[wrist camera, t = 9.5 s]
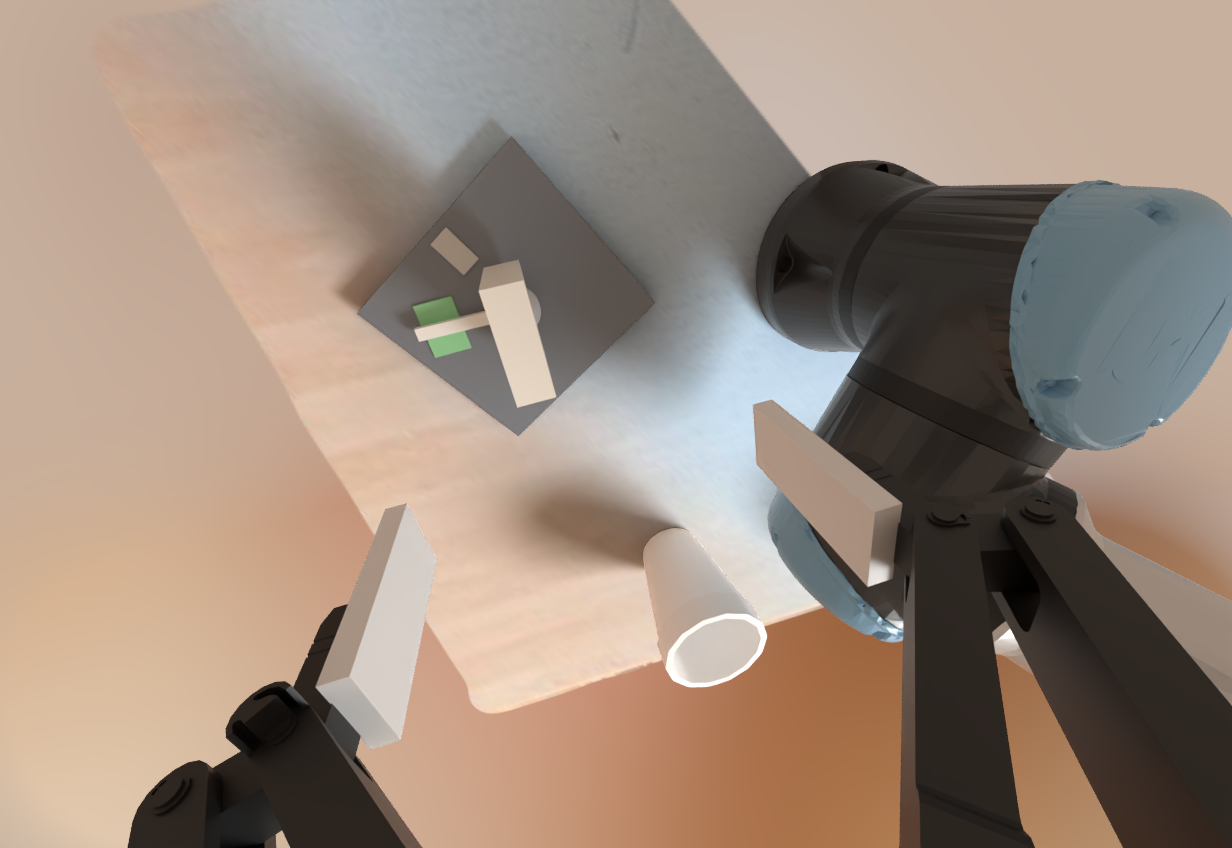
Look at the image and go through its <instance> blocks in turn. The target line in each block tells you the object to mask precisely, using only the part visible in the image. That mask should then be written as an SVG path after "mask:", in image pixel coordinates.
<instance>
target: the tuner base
mask: <svg viewBox="0 0 1232 848" xmlns="http://www.w3.org/2000/svg"><path fill="white" fill-rule="evenodd" d="M515 260H519V263H520V266H521V270H522V273H523V277H524V281H525V284H526V288H528V289H529V290H531V291H532V292H533V293H534V294H535V295H536V297H537V299H538V301H539V304H540V307H541V317H540V320H539V323H538V325H537V327H538V331H539V334H540V338H541V341H542V345H543V348H544V352H545V356H546V359H547V363H548V367H549V371H550V375H551V378H552V382H553V386H554V390H555V394H556V397H555V398H552V399H548V400H544V401H540V402H537V403H533V404H529V405H525V406H522V407H518V408H517V405H516V402H515V399H514V396H513V393H512V390H511V387H510V384H509V381H508V378H507V375H506V372H505V369H504V366H503V363H502V360H501V357H500V354H499V351H498V348H497V345H496V342H495V339H494V336H493V333H492V330H491V327H490V325H486V326H481V327H477V328H473V329H469V330H465V331H461V332H457V333H453V334H449V335H445V336H441V337H437V338H433V339H429V340H425V341H421V342H419V340H418V338H417V336H416V333H415V331H414V329H415V328H416V327H420V326H424V325H428V324H432V323H437V322H441V321H445V320H449V319H453V318H457V317H461V316H465V315H469V314H474V313H478V312H482V311H485V309H484V306H483V303H482V300H481V297H480V294H479V287H480V282H481V278H482V273H483V269H484V268H485V267H489V266H493V265H498V264H502V263H506V262H510V261H515ZM654 303H655V301H654V300H653V299H652V298H651V297H650V295H649V294H648V293H647V292H646V291H645V290H644V288H643V287H642V286H641V285H640V284H639V283H638V282H637V280H636V279H635V278H634V277H633V276H632V275H631V274H630V272H629V271H628V270H627V269H626V268H625V267H624V265H623V264H622V263H621V262H620V261H619V260H618V259H617V257H616V256H615V255H614V254H613V253H612V252H611V250H610V249H609V248H608V247H607V246H606V245H605V244H604V242H603V241H602V240H601V239H600V238H599V237H598V235H597V234H596V233H595V232H594V231H593V230H592V229H591V227H590V226H589V225H588V224H587V223H586V222H585V221H584V219H583V218H582V217H581V216H580V215H579V214H578V212H577V211H576V210H575V209H574V208H573V207H572V206H571V204H570V203H569V202H568V201H567V200H566V199H565V197H564V196H563V195H562V194H561V193H560V192H559V191H558V189H557V188H556V187H555V186H554V185H553V184H552V182H551V181H550V180H549V179H548V178H547V177H546V176H545V174H544V173H543V172H542V171H541V170H540V169H539V168H538V166H537V165H536V164H535V163H534V162H533V161H532V159H531V158H530V157H529V156H528V155H527V154H526V153H525V151H524V150H523V149H522V148H521V147H520V146H519V144H518V143H517V142H516V141H515V140H514V139H513V138H512V137H511V138H510V139H509V140H508V141H507V143H506V144H505V145H504V146H503V147H502V148H501V149H500V151H499V152H498V153H497V154H496V155H495V156H494V157H493V159H492V160H491V161H490V162H489V163H488V164H487V165H486V167H485V168H484V169H483V170H482V171H481V172H480V173H479V175H478V176H477V177H476V178H475V179H474V180H473V181H472V183H471V184H470V185H469V186H468V187H467V188H466V189H465V191H464V192H463V193H462V194H461V195H460V196H459V197H458V199H457V200H456V201H455V202H454V203H453V204H452V205H451V207H450V208H449V209H448V210H447V211H446V212H445V213H444V214H443V216H442V217H441V218H440V219H439V220H438V221H437V222H436V224H435V225H434V226H433V227H432V228H431V229H430V230H429V232H428V233H427V234H426V235H425V236H424V237H423V238H422V240H421V241H420V242H419V243H418V244H417V245H416V246H415V248H414V249H413V250H412V251H411V252H410V253H409V254H408V256H407V257H406V258H405V259H404V260H403V261H402V262H401V264H400V265H399V266H398V267H397V268H396V269H395V270H394V272H393V273H392V274H391V275H390V276H389V277H388V278H387V280H386V281H385V282H384V283H383V284H382V285H381V286H380V288H379V289H378V290H377V291H376V292H375V293H374V294H373V296H372V297H371V298H370V299H369V300H368V301H367V302H366V303H365V305H364V306H363V307H362V308H361V309H360V310H359V311H358V313H357V314H358V315H359V316H361V317H362V318H363V319H365V320H366V321H367V322H369V323H370V324H371V325H373V326H374V327H375V328H377V329H378V330H379V331H380V332H382V333H383V334H384V335H386V336H387V337H388V338H390V339H391V340H392V341H394V342H395V343H396V344H398V345H399V346H400V347H402V348H403V349H404V350H406V351H407V352H408V353H409V354H411V355H412V356H413V357H415V358H416V359H417V360H419V361H420V362H421V363H423V364H424V365H425V366H427V367H428V368H429V369H431V370H432V371H433V372H435V373H436V374H437V375H438V376H440V377H441V378H442V379H444V380H445V381H446V382H448V383H449V384H450V385H452V386H453V387H454V388H456V389H457V390H458V391H460V392H461V393H462V394H463V395H465V396H466V397H467V398H469V399H470V400H471V401H473V402H474V403H475V404H477V405H478V406H479V407H481V408H482V409H483V410H485V411H486V412H487V413H489V414H490V415H491V416H492V417H494V418H495V419H496V420H498V421H499V422H500V423H502V424H503V425H504V426H506V427H507V428H508V429H510V430H511V431H512V432H514V433H515V434H516V435H517V436H519V435H520V434H521V433H522V432H523V431H524V430H525V429H526V428H527V427H528V426H529V425H530V424H531V423H532V422H533V421H534V420H535V419H536V418H538V417H539V416H540V415H541V414H542V413H543V412H544V411H545V410H546V409H547V408H548V407H549V406H550V405H551V404H552V403H553V402H554V401H555V400H556V399H557V398H558V397H559V396H560V395H561V394H562V393H563V392H564V391H565V390H566V389H567V388H568V387H569V386H570V385H571V384H572V383H573V382H574V381H575V380H576V379H577V378H578V377H579V376H580V375H582V374H583V373H584V372H585V371H586V370H587V369H588V368H589V367H590V366H591V365H592V364H593V363H594V362H595V361H596V360H597V359H598V358H599V357H600V356H601V355H602V354H603V353H604V352H605V351H606V350H607V349H608V348H609V347H610V346H611V345H612V344H613V343H614V342H615V341H616V340H617V339H618V338H619V337H620V336H621V335H622V334H623V333H624V332H626V331H627V330H628V329H629V328H630V327H631V326H632V325H633V324H634V323H635V322H636V321H637V320H638V319H639V318H640V317H641V316H642V315H643V314H644V313H645V312H646V311H647V310H648V309H649V308H650V307H651V306H652V305H653V304H654Z"/></svg>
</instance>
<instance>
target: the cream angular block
mask: <svg viewBox="0 0 1232 848" xmlns="http://www.w3.org/2000/svg"><path fill="white" fill-rule="evenodd" d="M479 294H480V297H481V300H482V303H483V306H484V309H485V311H482V312H478V313H474V314H469V315H465V316H461V317H457V318H453V319H449V320H445V321H441V322H437V323H432V324H428V325H424V326H420V327H416V328H415V329H414V331H415V333H416V336H417V338H418V340H419V342H421V341H425V340H429V339H433V338H437V337H441V336H445V335H449V334H453V333H457V332H461V331H465V330H469V329H473V328H477V327H481V326H486V325H490V327H491V330H492V333H493V336H494V339H495V342H496V345H497V348H498V351H499V354H500V357H501V360H502V363H503V366H504V369H505V372H506V375H507V378H508V381H509V384H510V387H511V390H512V393H513V396H514V399H515V402H516V405H517V408H518V407H522V406H525V405H529V404H533V403H537V402H540V401H544V400H548V399H552V398H555V397H556V394H555V390H554V386H553V382H552V378H551V375H550V371H549V367H548V363H547V359H546V356H545V352H544V348H543V345H542V341H541V338H540V334H539V331H538V327H537V325H538V323H539V320H540V317H541V307H540V304H539V301H538V299H537V297H536V295H535V294H534V293H533V292H532V291H531V290H529V289H528V288H526V284H525V281H524V277H523V273H522V270H521V266H520V263H519V260H515V261H510V262H506V263H502V264H498V265H493V266H489V267H485V268H484V269H483V273H482V278H481V282H480V287H479Z"/></svg>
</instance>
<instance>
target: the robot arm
mask: <svg viewBox="0 0 1232 848" xmlns="http://www.w3.org/2000/svg"><path fill="white" fill-rule="evenodd" d="M756 282H757V292H758V298H759V302H760V305H761V308H762V310H763V313H764V315H765V317H766V318H767V320H768V321H769V323H770V324H771V325H772V327H773V328H774V329H775V330H776V331H777V332H778V333H780V334H781V335H782V336H784V337H785V338H787V339H789V340H791V341H792V342H794V343H796V344H798V345H800V346H802V347H805V348H808V349H811V350H815V351H821V352H837V351H843V352H860V354H859V356H858V358H857V360H856V361H855V363H854V365H853V366H852V368H851V370H850V371H849V373H848V374H847V375H846V377H845V379H844V380H843V382H842V384H841V385H840V387H839V389H838V390H837V392H836V394H835V395H834V397H833V399H832V400H831V402H830V404H829V405H828V407H827V409H826V410H825V412H824V414H823V415H822V417H821V419H820V420H819V422H818V424H817V425H816V427H815V429H814V430H813V432H812V431H811V430H810V429H808V428H807V427H806V426H805V425H803V424H802V423H801V422H799V421H798V420H797V419H796V418H794V417H793V416H792V415H791V414H789V413H788V412H787V411H786V410H784V409H783V408H782V407H781V406H779V405H778V404H777V403H776V402H774V401H773V400H768V401H765V402H761V403H758V404H754V405H753V412H754V428H755V444H756V461H757V465H758V466H759V467H760V468H761V469H762V471H763V472H764V473H765V474H766V475H767V476H768V477H769V478H770V479H771V480H772V482H773V483H774V484H775V485H776V486H777V487H778V488H779V490H778V492H777V494H776V495H775V497H774V499H773V501H772V503H771V506H770V508H769V513H768V527H769V532H770V535H771V537H772V541H773V543H774V544H775V546H776V547H777V550H778V553H779V555H780V557H781V559H782V560H783V562H784V563H785V565H786V566H787V567H788V569H789V570H790V572H791V573H792V574H793V575H794V577H795V578H796V579H797V580H798V581H799V583H800V584H801V585H802V586H803V587H804V588H805V589H806V590H807V591H808V592H809V593H810V594H811V595H812V596H813V597H814V598H815V599H816V600H817V601H818V602H819V603H821V604H822V605H823V606H824V607H825V608H826V609H827V610H829V611H830V612H831V613H832V614H834V615H835V616H836V617H837V618H839V619H840V620H842V621H843V622H845V623H846V624H848V625H849V626H851V627H852V628H854V629H856V630H858V631H860V632H862V633H864V634H866V635H870V634H873V635H874V636H875V637H876V638H877V639H878V640H882V641H886V642H899V641H901V640H903V672H902V674H903V675H902V730H901V731H902V732H901V786H900V787H901V788H900V844H899V848H1035V847H1034V844H1033V842H1032V839H1031V837H1030V836H1029V835H1028V834H1027V833H1026V832H1025V831H1024V830H1023V827H1022V824H1021V820H1020V815H1019V808H1018V803H1017V795H1016V789H1015V782H1014V775H1013V768H1012V762H1011V755H1010V749H1009V742H1008V735H1007V728H1006V721H1005V715H1004V708H1003V701H1002V695H1001V688H1000V682H999V675H998V668H997V662H996V654H999V655H1004V656H1005V657H1007V658H1008V659H1010V660H1011V661H1013V662H1014V663H1016V664H1018V665H1019V666H1021V667H1022V668H1024V669H1025V670H1027V671H1028V672H1030V673H1031V674H1033V675H1034V676H1035V678H1036V680H1037V682H1038V684H1039V686H1040V688H1041V690H1042V691H1043V693H1044V695H1045V697H1046V699H1047V701H1048V703H1049V705H1050V707H1051V709H1052V711H1053V713H1054V715H1055V717H1056V719H1057V720H1058V723H1059V724H1060V726H1061V728H1062V730H1063V732H1064V734H1065V736H1066V738H1067V740H1068V742H1069V744H1070V746H1071V748H1072V749H1073V751H1074V753H1075V755H1076V757H1077V759H1078V761H1079V763H1080V765H1081V767H1082V769H1083V771H1084V773H1085V775H1086V777H1087V778H1088V781H1089V783H1090V784H1091V786H1092V788H1093V790H1094V792H1095V794H1096V795H1097V798H1098V800H1099V802H1100V804H1101V805H1102V808H1103V810H1104V811H1105V813H1106V815H1107V817H1108V819H1109V821H1110V823H1111V825H1112V827H1113V829H1114V831H1115V832H1116V834H1117V836H1118V839H1119V841H1120V842H1121V844H1122V846H1123V848H1232V601H1230V600H1228V599H1226V598H1224V597H1222V596H1220V595H1218V594H1216V593H1214V592H1212V591H1210V590H1208V589H1206V588H1204V587H1202V586H1200V585H1198V584H1197V583H1194V582H1192V581H1190V580H1188V579H1187V578H1185V577H1182V576H1181V575H1179V574H1176V573H1175V572H1172V571H1171V570H1168V569H1167V568H1164V567H1162V566H1161V565H1159V564H1157V563H1154V562H1152V561H1151V560H1149V559H1147V558H1145V557H1143V556H1141V555H1139V554H1136V553H1134V552H1133V551H1131V550H1128V549H1127V548H1125V547H1123V546H1121V545H1119V544H1117V543H1115V542H1113V541H1111V540H1109V539H1107V538H1105V537H1103V536H1101V535H1100V534H1099V533H1098V532H1097V531H1096V530H1095V528H1094V526H1093V523H1092V521H1091V518H1090V515H1089V512H1088V509H1087V507H1086V504H1085V501H1084V499H1083V497H1082V495H1081V494H1079V493H1077V492H1076V491H1074V490H1072V489H1070V488H1068V487H1066V486H1063V485H1061V484H1059V483H1057V482H1055V481H1053V480H1051V479H1049V478H1047V477H1045V475H1046V474H1047V472H1048V470H1049V469H1050V467H1052V465H1054V463H1055V462H1056V461H1057V460H1058V459H1059V457H1060V456H1061V455H1062V454H1063V452H1064V451H1065V450H1066V449H1067V448H1071V449H1076V450H1083V449H1087V450H1094V451H1100V450H1110V449H1115V448H1119V447H1122V446H1125V445H1127V444H1129V443H1132V442H1134V441H1136V440H1138V439H1139V438H1141V437H1143V436H1144V434H1145V432H1146V430H1147V429H1148V427H1149V426H1150V427H1153V426H1158V425H1160V424H1162V423H1163V422H1164V421H1166V420H1167V419H1168V418H1169V417H1170V416H1171V415H1172V414H1173V413H1174V412H1176V410H1178V409H1179V408H1180V406H1181V405H1182V404H1183V403H1184V402H1185V401H1186V400H1187V399H1188V397H1190V395H1191V394H1192V393H1193V392H1194V391H1195V389H1196V388H1197V387H1198V385H1199V384H1200V383H1201V381H1202V379H1203V378H1204V377H1205V375H1206V374H1207V372H1208V371H1209V369H1210V368H1211V366H1212V365H1213V363H1214V361H1215V360H1216V358H1217V356H1218V355H1219V353H1220V351H1221V349H1222V347H1223V345H1224V343H1225V341H1226V339H1227V336H1228V334H1229V332H1230V330H1231V328H1232V217H1231V215H1230V214H1229V213H1228V212H1227V211H1226V210H1225V209H1224V208H1223V207H1222V206H1221V205H1219V204H1218V203H1217V202H1216V201H1214V200H1212V199H1211V198H1208V197H1207V196H1205V195H1202V194H1200V193H1196V192H1193V191H1188V190H1183V189H1177V188H1160V187H1159V188H1158V187H1136V186H1121V185H1119V184H1116V183H1111V182H1107V181H1101V180H1098V181H1084V182H1081V183H1078V184H1047V185H1046V184H1040V185H978V186H938V185H936V184H934V183H932V182H931V181H929V180H926V179H925V178H923V177H921V176H919V175H917V174H915V173H913V172H911V171H909V170H907V169H905V168H904V167H902V166H899V165H896V164H894V163H890V162H885V161H877V160H868V161H853V162H846V163H841V164H837V165H834V166H831V167H828V168H826V169H824V170H822V171H820V172H818V173H817V174H815V175H813V176H812V177H810V178H809V179H807V180H806V181H805V182H804V183H802V184H801V185H800V186H799V187H798V188H797V189H796V190H795V191H794V192H793V193H792V194H791V195H790V196H789V197H788V198H787V199H786V201H785V202H784V203H783V204H782V206H781V207H780V208H779V210H778V211H777V213H776V215H775V216H774V218H773V220H772V221H771V223H770V225H769V227H768V230H767V232H766V234H765V237H764V239H763V242H762V245H761V249H760V253H759V257H758V263H757V274H756ZM436 561H437V558H436V556H435V554H434V552H433V551H432V549H431V547H430V545H429V543H428V541H427V539H426V538H425V536H424V534H423V532H422V530H421V528H420V526H419V525H418V523H417V521H416V519H415V517H414V515H413V513H412V512H411V510H410V508H409V506H408V504H407V503H406V504H403V505H399V506H396V507H392V508H389V509H385V512H384V514H383V517H382V519H381V522H380V524H379V527H378V529H377V532H376V535H375V537H374V540H373V542H372V545H371V547H370V550H369V552H368V555H367V557H366V560H365V562H364V565H363V568H362V570H361V573H360V575H359V578H358V580H357V583H356V585H355V588H354V590H353V593H352V595H351V598H350V601H349V603H348V604H347V605H343V606H340V607H336V608H334V609H333V610H332V611H331V613H330V614H329V615H328V617H327V618H326V619H325V620H324V621H323V623H322V624H321V625H320V628H319V630H318V632H317V634H316V637H315V639H314V644H312V646H311V648H310V650H309V653H308V658H306V660H305V662H304V664H303V666H302V669H301V671H300V673H299V676H298V678H297V680H296V682H295V685H294V687H292V686H291V685H290V684H288V683H287V682H285V681H283V682H274V683H272V684H269V685H267V686H264V687H262V688H261V689H259V690H258V691H256V692H255V693H253V694H252V695H251V696H249V697H248V698H247V699H246V700H245V701H244V702H243V703H242V704H241V705H240V706H239V707H238V708H237V710H236V711H235V712H234V714H233V715H232V716H231V718H230V720H229V723H228V725H227V727H226V738H227V739H228V740H229V741H230V742H231V743H232V744H234V745H235V746H236V747H237V748H238V749H239V750H241V752H239V753H237V754H236V755H234V756H233V757H231V758H229V759H227V760H226V761H224V762H222V763H220V764H219V765H217V766H215V767H214V768H211V767H210V766H209V765H208V764H207V763H205V762H202V761H200V760H198V761H193V762H188V763H186V764H184V765H182V766H181V767H179V768H177V769H175V770H174V771H172V772H171V773H170V774H168V775H167V776H166V777H164V778H163V779H162V780H161V781H160V782H159V783H158V784H157V785H156V786H155V787H154V788H153V789H152V790H151V791H150V792H149V793H148V794H147V796H146V797H145V799H144V800H143V801H142V803H141V805H140V806H139V807H138V809H137V812H136V814H135V817H134V819H133V823H132V827H131V833H130V838H129V843H128V848H276V835H275V834H277V833H278V832H280V831H281V830H282V831H283V833H284V834H285V837H286V839H287V841H288V844H289V846H290V848H422V847H421V845H420V844H419V842H418V841H417V840H416V838H415V837H414V836H413V834H412V833H411V831H410V830H409V828H408V827H407V826H406V824H405V823H404V821H403V820H402V819H401V817H400V816H399V814H398V813H397V811H396V810H395V808H394V807H393V806H392V804H391V803H390V801H389V800H388V799H387V797H386V796H385V794H384V793H383V791H382V790H381V789H380V787H379V786H378V784H377V783H376V782H375V780H374V779H373V777H372V776H371V774H370V773H369V772H368V770H367V769H366V767H365V766H364V764H363V763H362V762H361V761H360V759H359V758H358V757H357V756H356V751H357V748H358V744H359V740H360V738H361V739H362V740H363V741H364V743H365V744H366V745H367V746H368V747H369V748H370V749H371V750H372V749H375V748H378V747H381V746H384V745H387V744H390V743H393V742H396V741H399V740H401V736H402V731H403V725H404V721H405V716H406V711H407V706H408V701H409V696H410V691H411V686H412V681H413V676H414V671H415V666H416V661H417V656H418V651H419V646H420V641H421V636H422V631H423V626H424V621H425V616H426V611H427V606H428V601H429V596H430V591H431V586H432V581H433V576H434V571H435V566H436Z"/></svg>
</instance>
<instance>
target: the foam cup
mask: <svg viewBox="0 0 1232 848" xmlns="http://www.w3.org/2000/svg"><path fill="white" fill-rule="evenodd" d="M643 560H644V561H643V563H644V568H645V573H646V578H647V583H648V588H649V593H650V598H651V603H652V608H653V613H654V618H655V623H656V629H657V634H658V644H657V645H658V648H659V651H660V653H661V656H662V659H663V662H664V665H665V668H666V670H667V672H668V673H669V675H670V677H671V678H672V680H673V681H675V682H677V683H679V684H682V685H684V686H687V687H709V686H712V685H716V684H718V683H721V682H725V681H728V680H730V679H732V678H734V677H735V676H736V675H738V674H740V673H741V672H743V671H745V670H746V669H748V668H749V667H750V666H751V665H752V664H753V662H754V661H755V660H756V659H757V658H758V657H759V655H760V654H761V653H762V651H763V648H764V645H765V642H766V639H767V634H766V631H765V629H764V625H763V623H762V621H761V619H760V618H759V616H758V614H757V613H756V611H755V609H754V608H753V606H752V604H751V603H750V601H748V600H746V599H745V598H744V597H743V596H742V595H741V593H740V592H739V591H738V590H737V588H736V587H735V586H734V585H733V583H732V582H731V581H730V580H729V578H728V577H727V576H726V575H725V573H724V572H723V571H722V570H721V568H720V567H719V566H718V565H717V563H716V562H715V561H714V560H713V558H712V557H711V556H710V555H709V553H708V552H707V551H706V550H705V548H704V547H703V546H702V545H701V544H700V542H699V541H698V540H697V539H696V538H695V537H694V535H693V534H692V533H690V532H689V531H687V530H686V529H680V528H671V529H667V530H663V531H661V532H659V533H658V534H656V535H655V536H653V537H652V538H650V540H649V541H648V543H647V544H646V546H645V547H644V551H643Z"/></svg>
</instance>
